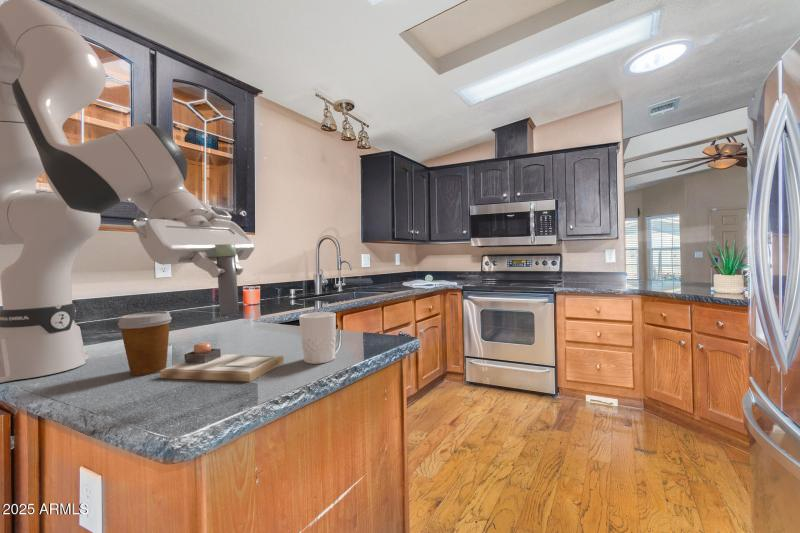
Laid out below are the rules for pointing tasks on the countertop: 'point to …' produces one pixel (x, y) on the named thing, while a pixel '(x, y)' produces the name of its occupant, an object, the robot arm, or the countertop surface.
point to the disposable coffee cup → (146, 341)
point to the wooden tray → (222, 366)
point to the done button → (202, 348)
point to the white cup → (318, 336)
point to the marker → (227, 279)
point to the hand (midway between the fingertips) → (229, 273)
